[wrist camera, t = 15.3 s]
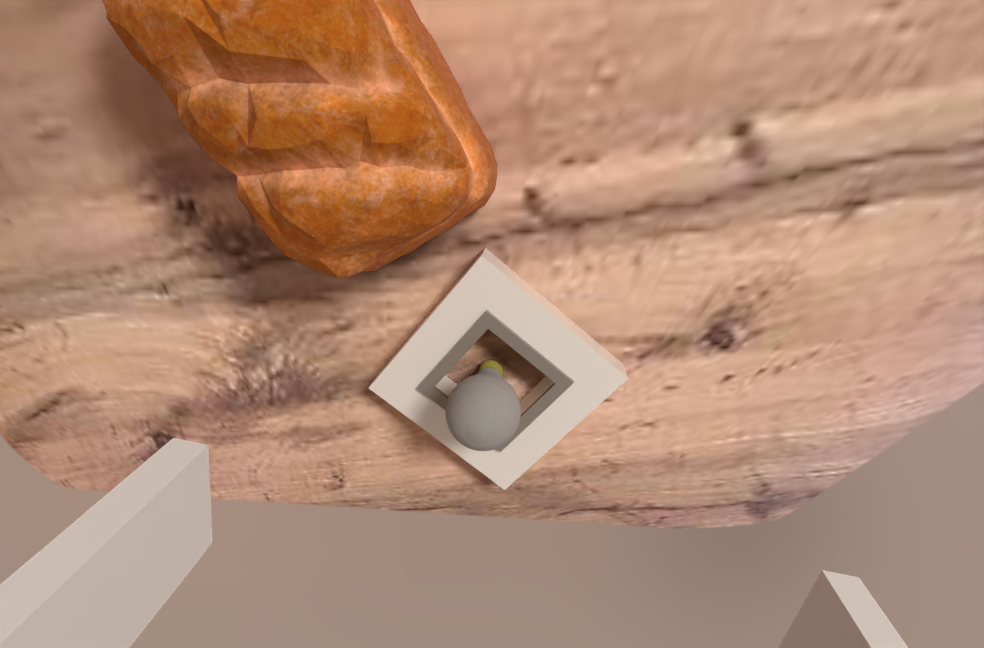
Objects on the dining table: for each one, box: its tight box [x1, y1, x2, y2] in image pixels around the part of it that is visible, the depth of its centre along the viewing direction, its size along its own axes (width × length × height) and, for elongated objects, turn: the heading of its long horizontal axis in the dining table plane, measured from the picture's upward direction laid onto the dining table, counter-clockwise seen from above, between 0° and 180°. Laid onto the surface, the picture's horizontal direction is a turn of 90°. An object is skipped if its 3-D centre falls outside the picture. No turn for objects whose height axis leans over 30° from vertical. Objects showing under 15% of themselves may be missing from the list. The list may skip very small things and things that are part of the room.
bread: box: [102, 0, 497, 277], centre depth 29 cm, size 14×26×16 cm, turn 31°
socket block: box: [369, 248, 628, 490], centre depth 42 cm, size 15×15×3 cm
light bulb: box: [445, 360, 521, 451], centre depth 39 cm, size 6×5×10 cm
